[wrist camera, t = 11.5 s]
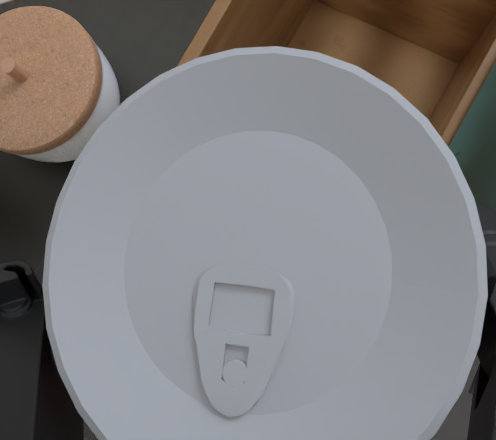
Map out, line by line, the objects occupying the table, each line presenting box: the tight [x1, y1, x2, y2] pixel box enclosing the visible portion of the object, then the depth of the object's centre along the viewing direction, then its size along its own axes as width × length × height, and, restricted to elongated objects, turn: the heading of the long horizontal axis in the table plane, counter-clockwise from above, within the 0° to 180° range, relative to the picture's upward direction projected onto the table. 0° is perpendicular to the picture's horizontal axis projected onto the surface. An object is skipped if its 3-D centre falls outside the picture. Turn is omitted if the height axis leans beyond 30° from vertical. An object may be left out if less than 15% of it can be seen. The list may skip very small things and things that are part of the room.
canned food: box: [42, 46, 488, 440], centre depth 13 cm, size 8×8×11 cm
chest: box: [177, 0, 496, 147], centre depth 28 cm, size 14×16×13 cm
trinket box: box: [0, 6, 120, 162], centre depth 33 cm, size 11×11×9 cm
